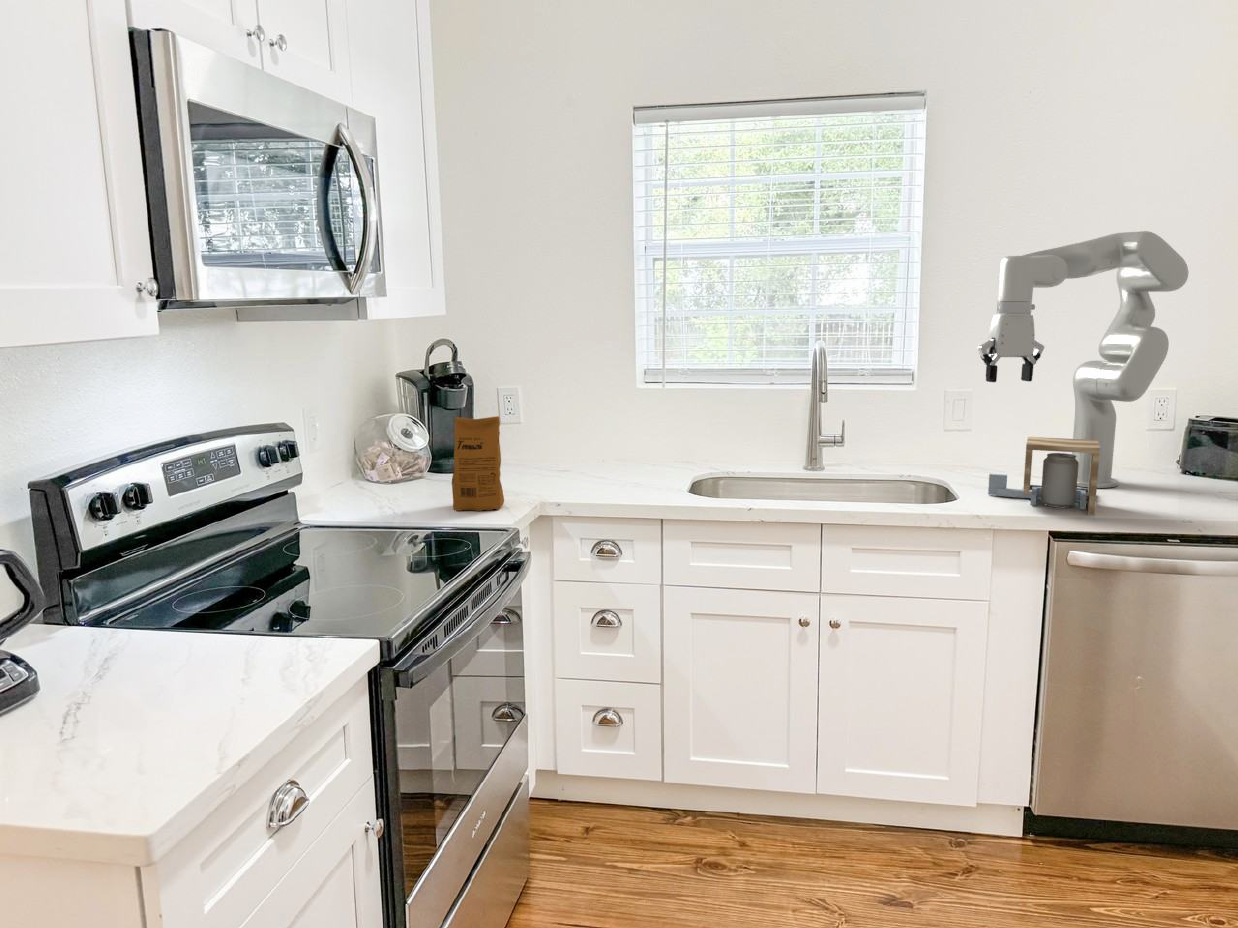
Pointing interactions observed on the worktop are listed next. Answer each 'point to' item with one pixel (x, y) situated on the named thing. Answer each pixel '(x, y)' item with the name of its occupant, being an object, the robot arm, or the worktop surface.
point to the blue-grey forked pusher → (1000, 483)
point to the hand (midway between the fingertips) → (1008, 381)
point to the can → (1059, 480)
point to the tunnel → (1065, 446)
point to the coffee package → (477, 465)
